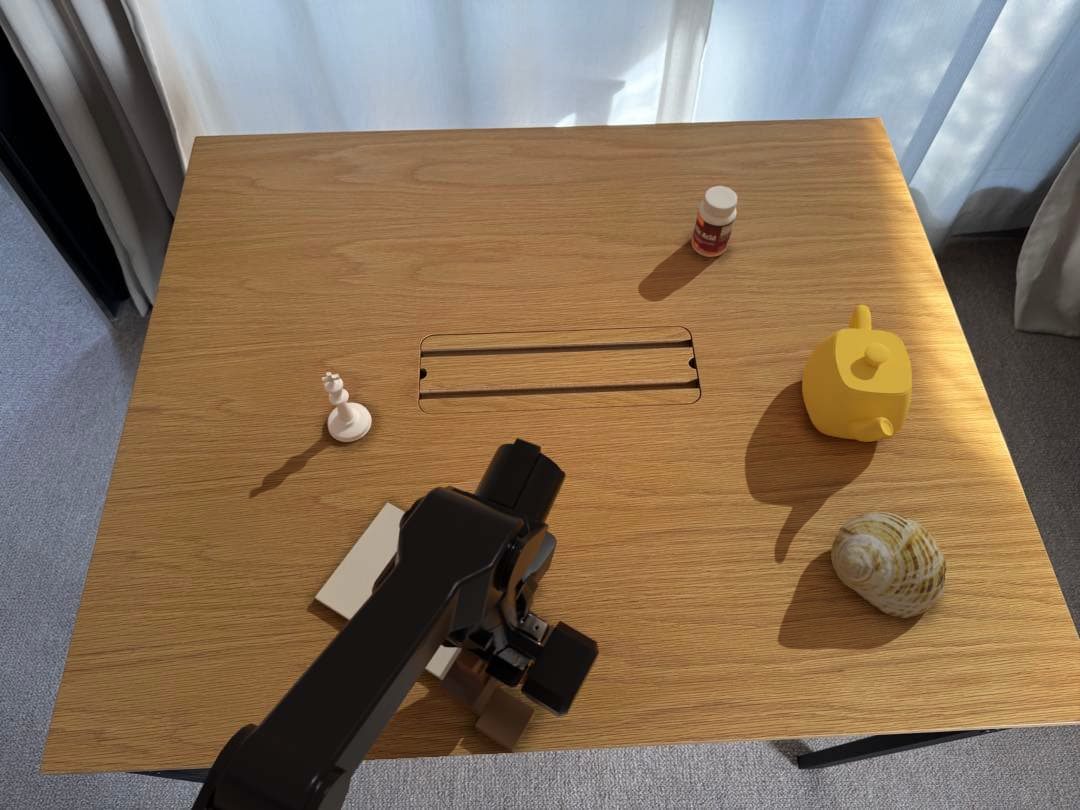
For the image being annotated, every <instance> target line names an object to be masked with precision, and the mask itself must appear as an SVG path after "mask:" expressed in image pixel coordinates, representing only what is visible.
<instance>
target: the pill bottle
mask: <svg viewBox="0 0 1080 810" xmlns="http://www.w3.org/2000/svg"><path fill="white" fill-rule="evenodd" d="M702 200H703V201H702V202H701V203H700V205H699V207H698V211H697V215H696V219H695V224H694V229H693V233H692V237H691V246H692V248H693V250H694V251H695V252H696V253H697V254H699V255H700V256H703V257H707V258H714V257H718V256H721V255H723V254H724V253H725V252H726V251H727V248H728V245H729V242H730V238H731V235H732V232H733V228H734V226H735V221H736V218H737V214H738V213H737V203H738V194H737V193H736V192H735V191H734V190H733V189H732V188H730V187H727V186H725V185H724V186H723V185H716V186H712V187H710V188H708V189H707V190H706V191H705V194H704V197H703V199H702Z"/></svg>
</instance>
